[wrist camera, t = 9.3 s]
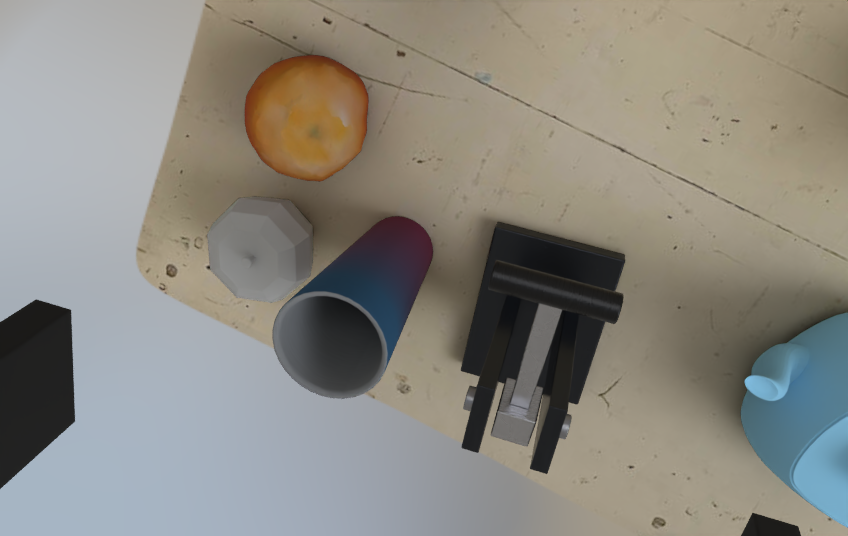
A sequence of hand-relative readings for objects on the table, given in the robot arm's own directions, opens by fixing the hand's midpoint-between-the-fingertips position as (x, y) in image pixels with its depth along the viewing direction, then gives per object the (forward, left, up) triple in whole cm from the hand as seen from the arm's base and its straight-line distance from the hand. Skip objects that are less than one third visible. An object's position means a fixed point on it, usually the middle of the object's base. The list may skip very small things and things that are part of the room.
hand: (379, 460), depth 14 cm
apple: (+15, -17, -39) cm, 45 cm away
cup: (+14, -8, -39) cm, 42 cm away
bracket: (+16, +3, -39) cm, 42 cm away
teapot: (+15, +23, -39) cm, 47 cm away
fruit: (+5, -15, -39) cm, 42 cm away
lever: (+10, +3, -25) cm, 27 cm away
